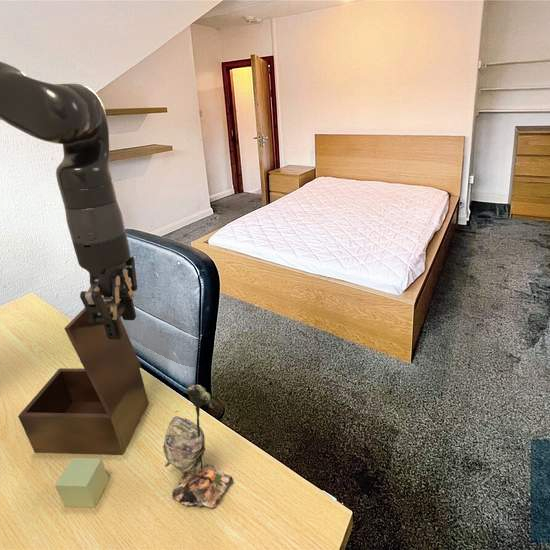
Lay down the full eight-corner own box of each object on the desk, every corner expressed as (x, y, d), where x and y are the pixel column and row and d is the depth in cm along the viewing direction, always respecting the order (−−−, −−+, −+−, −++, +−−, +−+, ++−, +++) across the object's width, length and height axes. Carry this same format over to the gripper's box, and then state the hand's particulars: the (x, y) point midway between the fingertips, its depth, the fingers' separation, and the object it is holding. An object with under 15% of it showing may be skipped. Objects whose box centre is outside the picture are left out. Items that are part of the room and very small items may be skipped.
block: (64, 506, 64) (54, 485, 62) (80, 478, 69) (72, 457, 66) (94, 507, 64) (86, 486, 61) (109, 479, 68) (101, 458, 66)
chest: (34, 452, 74) (17, 416, 70) (71, 402, 86) (59, 368, 82) (122, 455, 72) (110, 417, 68) (148, 403, 84) (139, 368, 80)
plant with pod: (192, 451, 72) (172, 360, 63) (240, 483, 66) (225, 386, 57) (155, 486, 66) (127, 390, 58) (204, 524, 60) (181, 424, 51)
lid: (63, 328, 61) (96, 323, 60) (103, 288, 72) (131, 283, 72) (107, 415, 68) (137, 413, 67) (137, 366, 80) (163, 363, 79)
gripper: (97, 217, 67) (119, 306, 75) (46, 251, 55) (79, 354, 62) (141, 216, 67) (159, 306, 74) (99, 250, 54) (126, 355, 61)
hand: (122, 328), depth 68 cm, fingers closed on lid, 5 cm apart
